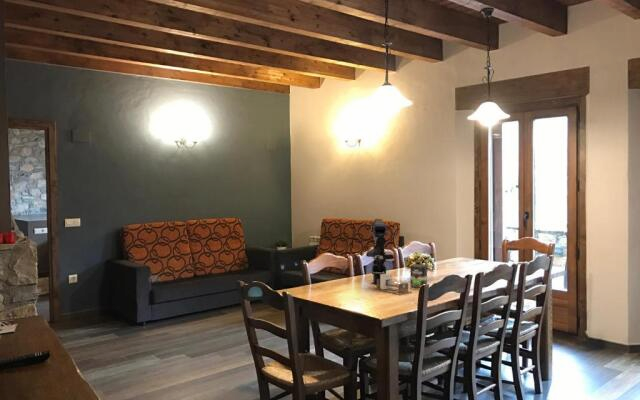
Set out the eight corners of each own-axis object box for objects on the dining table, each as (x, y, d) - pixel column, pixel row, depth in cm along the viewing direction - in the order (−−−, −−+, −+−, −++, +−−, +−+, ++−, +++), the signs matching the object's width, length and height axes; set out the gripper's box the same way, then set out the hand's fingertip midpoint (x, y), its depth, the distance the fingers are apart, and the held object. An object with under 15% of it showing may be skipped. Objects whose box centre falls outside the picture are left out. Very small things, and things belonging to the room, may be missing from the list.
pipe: (374, 288, 323) (374, 279, 322) (386, 286, 328) (386, 277, 328) (398, 294, 307) (398, 284, 307) (410, 291, 313) (410, 282, 313)
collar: (380, 288, 321) (380, 274, 320) (388, 287, 325) (388, 273, 325) (383, 289, 318) (383, 275, 318) (392, 287, 323) (392, 273, 322)
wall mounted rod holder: (373, 289, 323) (373, 279, 323) (385, 287, 329) (385, 277, 329) (399, 295, 306) (399, 285, 306) (411, 293, 312) (411, 282, 312)
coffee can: (424, 290, 319) (424, 267, 319) (408, 289, 324) (408, 266, 324) (429, 287, 328) (429, 264, 328) (413, 286, 333) (413, 263, 333)
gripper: (359, 243, 327) (359, 268, 328) (381, 246, 313) (381, 272, 313) (373, 242, 334) (373, 266, 335) (394, 245, 320) (394, 270, 320)
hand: (379, 269), depth 326 cm, fingers closed
